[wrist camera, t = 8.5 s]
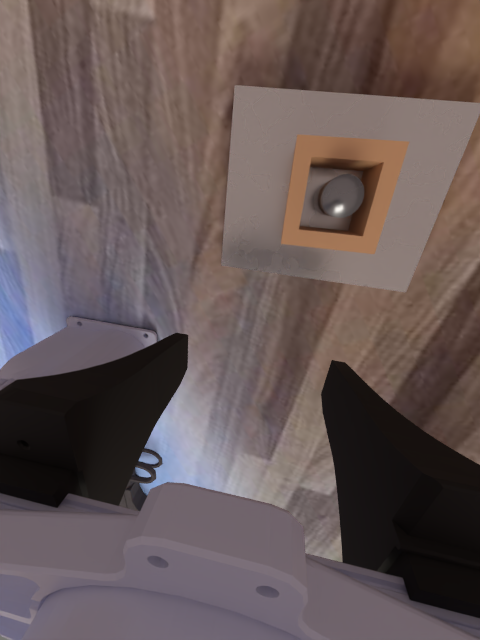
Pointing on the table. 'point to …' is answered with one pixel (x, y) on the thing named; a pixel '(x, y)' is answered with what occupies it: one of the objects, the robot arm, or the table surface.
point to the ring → (378, 180)
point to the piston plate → (337, 120)
